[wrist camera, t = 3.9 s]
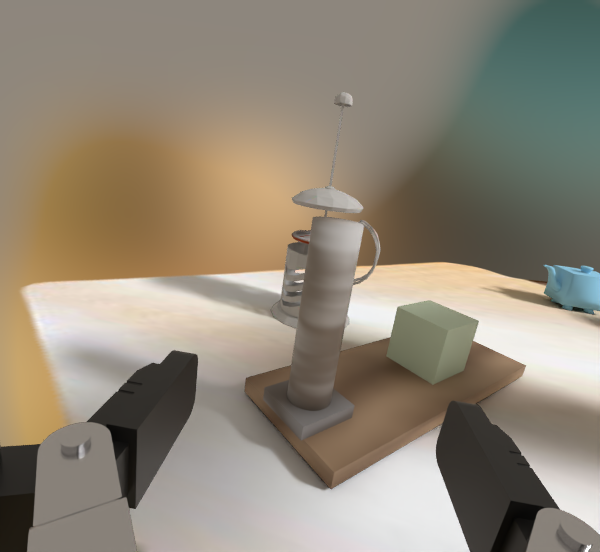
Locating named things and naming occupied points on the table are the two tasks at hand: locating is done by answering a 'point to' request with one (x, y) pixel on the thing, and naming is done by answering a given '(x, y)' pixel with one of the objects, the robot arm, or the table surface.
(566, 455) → the table surface
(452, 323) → the cube
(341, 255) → the wooden board with post
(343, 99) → the french press
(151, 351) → the table surface
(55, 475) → the robot arm
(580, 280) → the teapot
